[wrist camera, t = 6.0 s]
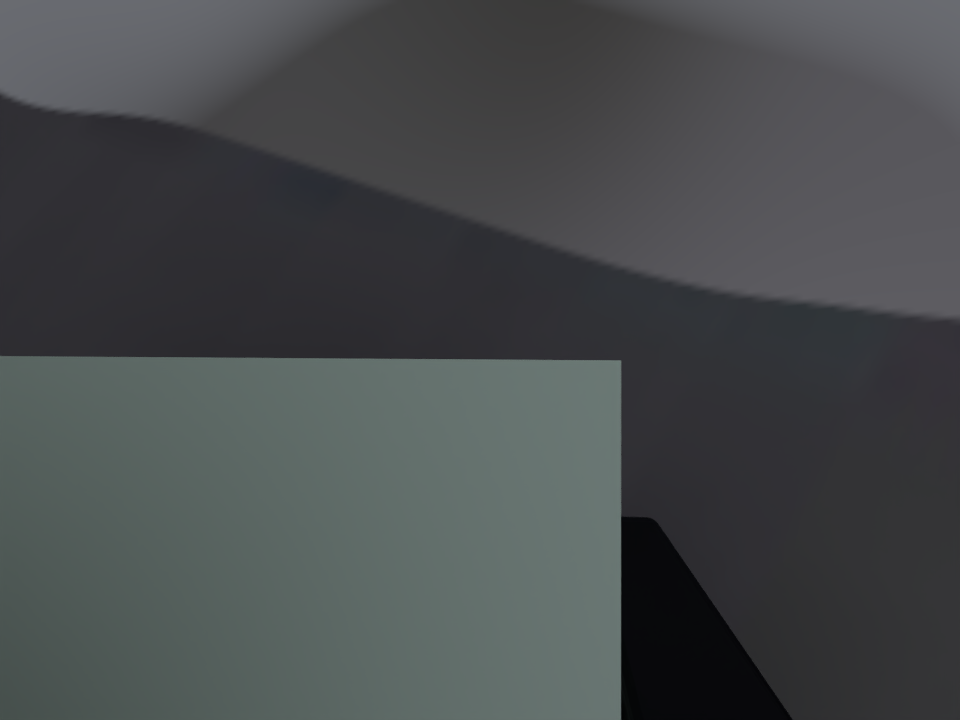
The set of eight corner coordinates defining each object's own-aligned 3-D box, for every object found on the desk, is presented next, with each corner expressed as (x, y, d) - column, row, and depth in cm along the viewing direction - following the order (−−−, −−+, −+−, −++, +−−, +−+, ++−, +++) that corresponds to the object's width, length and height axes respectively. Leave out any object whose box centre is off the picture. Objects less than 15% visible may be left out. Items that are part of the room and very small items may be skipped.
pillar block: (602, 532, 14) (621, 360, 4) (601, 802, 13) (620, 1658, 3) (361, 523, 15) (-238, 353, 4) (343, 783, 14) (-510, 1430, 3)
